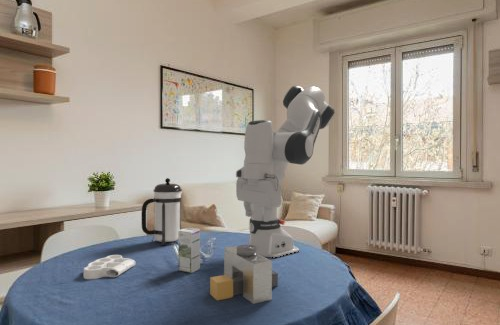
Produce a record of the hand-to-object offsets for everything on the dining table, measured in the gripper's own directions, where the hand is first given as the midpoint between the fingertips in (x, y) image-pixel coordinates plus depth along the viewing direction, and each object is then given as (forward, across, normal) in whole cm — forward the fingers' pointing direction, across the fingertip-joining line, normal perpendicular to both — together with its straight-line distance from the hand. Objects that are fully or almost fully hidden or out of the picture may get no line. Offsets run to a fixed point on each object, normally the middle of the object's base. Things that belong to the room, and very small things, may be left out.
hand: (257, 218), depth 105 cm
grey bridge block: (+22, +1, +3) cm, 22 cm away
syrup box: (+22, +27, +11) cm, 37 cm away
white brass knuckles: (+23, +41, +36) cm, 59 cm away
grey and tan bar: (+22, +1, +3) cm, 22 cm away
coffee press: (+22, +69, +6) cm, 73 cm away
